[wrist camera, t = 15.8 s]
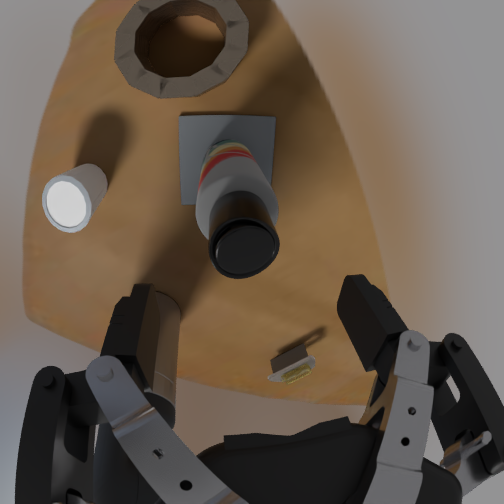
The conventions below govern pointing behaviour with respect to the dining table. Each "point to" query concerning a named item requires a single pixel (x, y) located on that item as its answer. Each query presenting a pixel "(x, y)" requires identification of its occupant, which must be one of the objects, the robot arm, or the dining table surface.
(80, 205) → the white cylinder
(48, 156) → the dining table surface
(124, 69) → the collar
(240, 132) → the rubber mat
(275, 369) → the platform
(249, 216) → the lotion bottle
